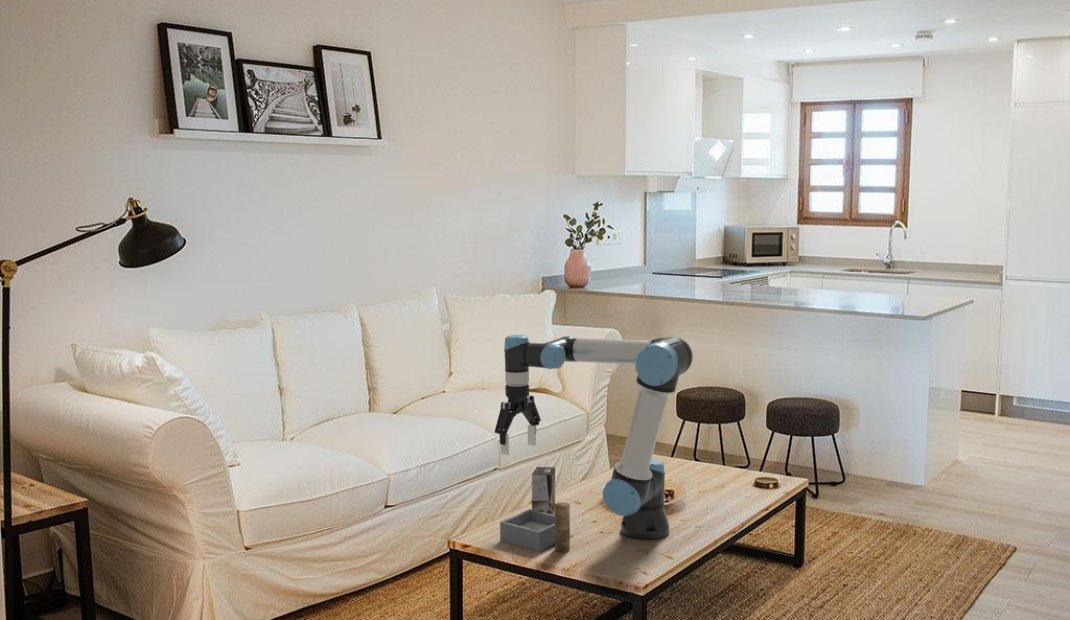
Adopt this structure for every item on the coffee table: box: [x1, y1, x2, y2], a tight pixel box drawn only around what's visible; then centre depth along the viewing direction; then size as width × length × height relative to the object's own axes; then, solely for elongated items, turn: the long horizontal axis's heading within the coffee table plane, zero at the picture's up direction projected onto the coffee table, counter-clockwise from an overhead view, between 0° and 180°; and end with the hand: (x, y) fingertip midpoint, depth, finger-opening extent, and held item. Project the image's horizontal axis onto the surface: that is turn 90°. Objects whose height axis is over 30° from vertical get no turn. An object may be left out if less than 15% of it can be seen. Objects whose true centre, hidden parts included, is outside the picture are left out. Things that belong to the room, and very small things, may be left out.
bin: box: [499, 508, 555, 552], centre depth 311 cm, size 15×15×6 cm
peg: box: [554, 501, 571, 553], centre depth 301 cm, size 4×4×14 cm
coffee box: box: [531, 466, 556, 515], centre depth 329 cm, size 9×6×16 cm
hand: (518, 449), depth 321 cm, fingers open, 13 cm apart
